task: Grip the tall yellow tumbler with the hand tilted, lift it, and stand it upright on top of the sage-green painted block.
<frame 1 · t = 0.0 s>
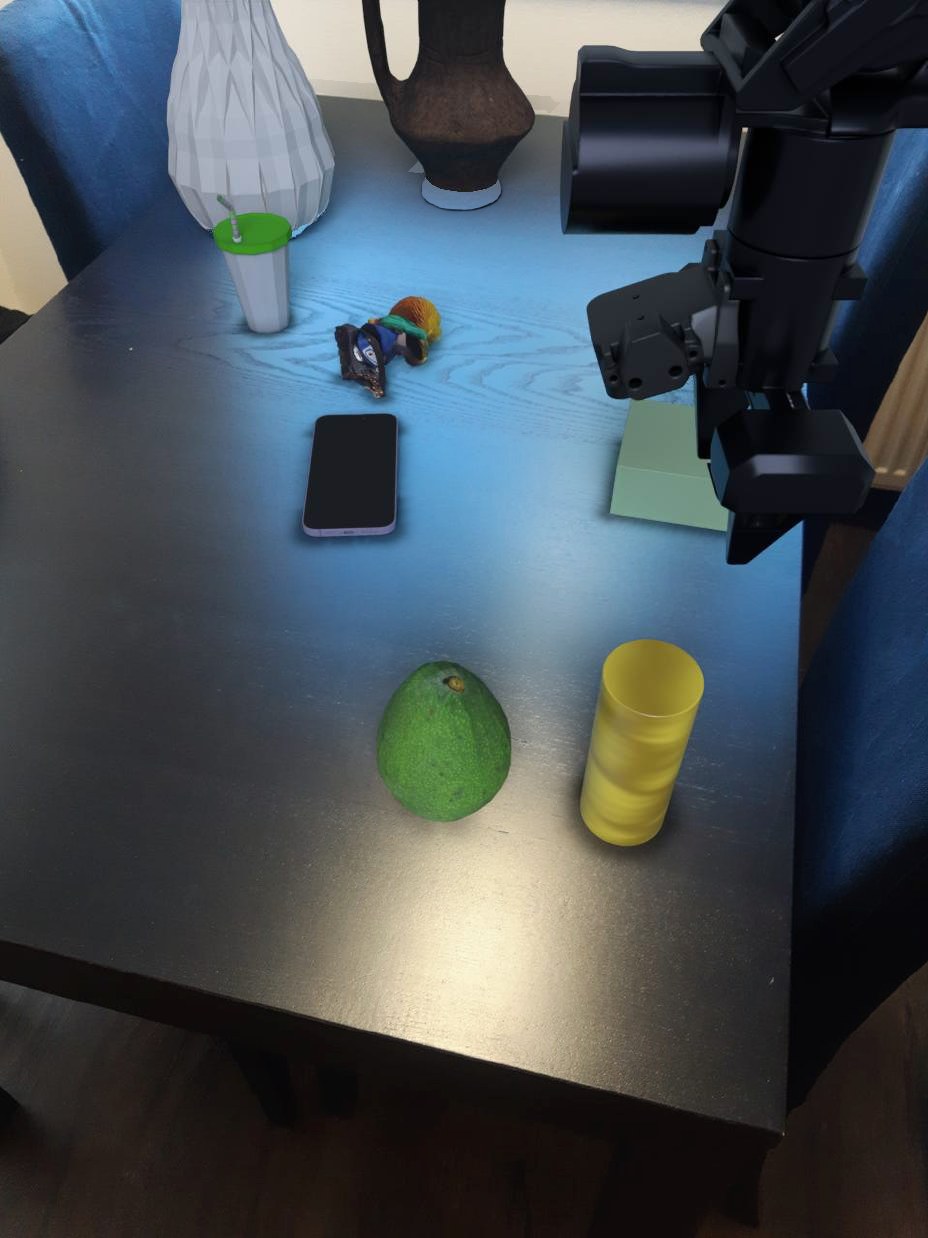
hand: (719, 506, 50), 16 cm above the table, tool pointing down, fingers open, 9 cm apart
jug: (453, 195, 120), on the table
vase: (264, 229, 113), on the table
green block: (674, 486, 77), on the table
cup: (269, 324, 96), on the table
figurine: (391, 369, 90), on the table
smartphone: (354, 479, 78), on the table
yellow tumbler: (621, 808, 55), on the table
fruit: (445, 795, 56), on the table
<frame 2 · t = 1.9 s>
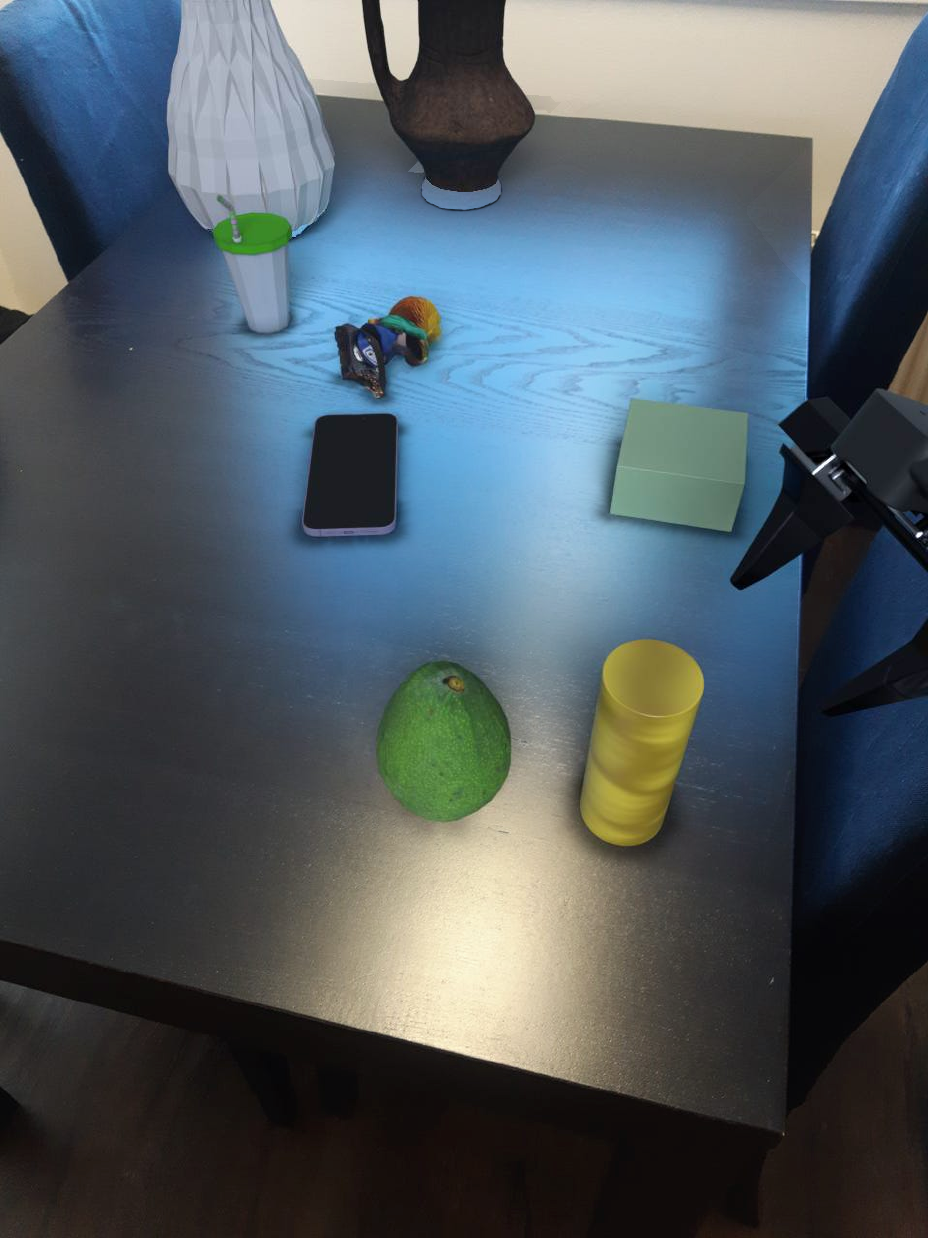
hand: (775, 645, 47), 13 cm above the table, tool tilted 45°, fingers open, 9 cm apart
nothing on the table moved.
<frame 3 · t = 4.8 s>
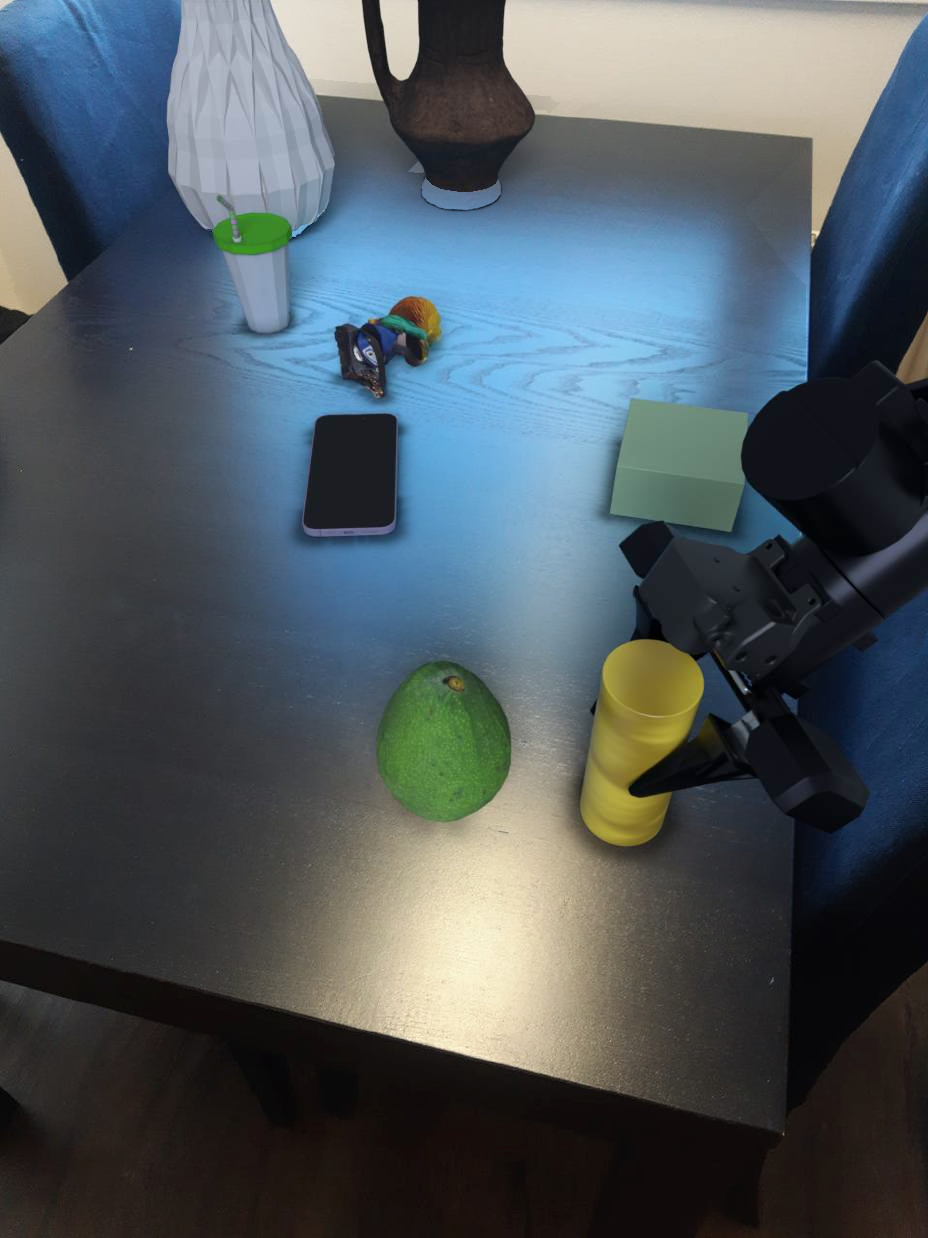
hand: (613, 753, 50), 7 cm above the table, tool tilted 45°, fingers closed on yellow tumbler, 5 cm apart
yellow tumbler: (621, 809, 55), on the table, touching gripper
everything else where it was.
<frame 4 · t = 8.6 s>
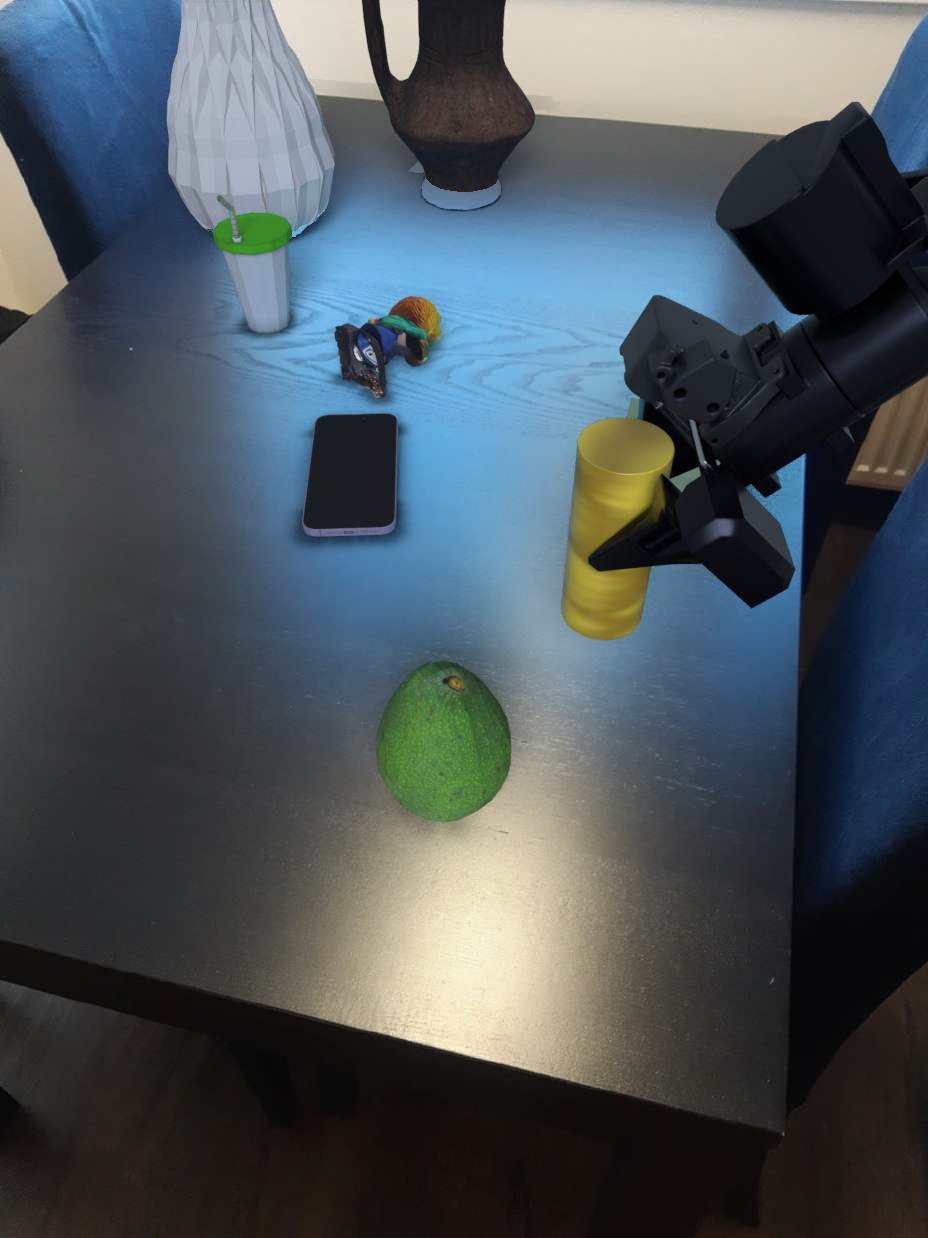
hand: (589, 533, 52), 13 cm above the table, tool tilted 45°, fingers closed on yellow tumbler, 5 cm apart
yellow tumbler: (600, 610, 57), point 7 cm above the table, touching gripper
everything else where it was.
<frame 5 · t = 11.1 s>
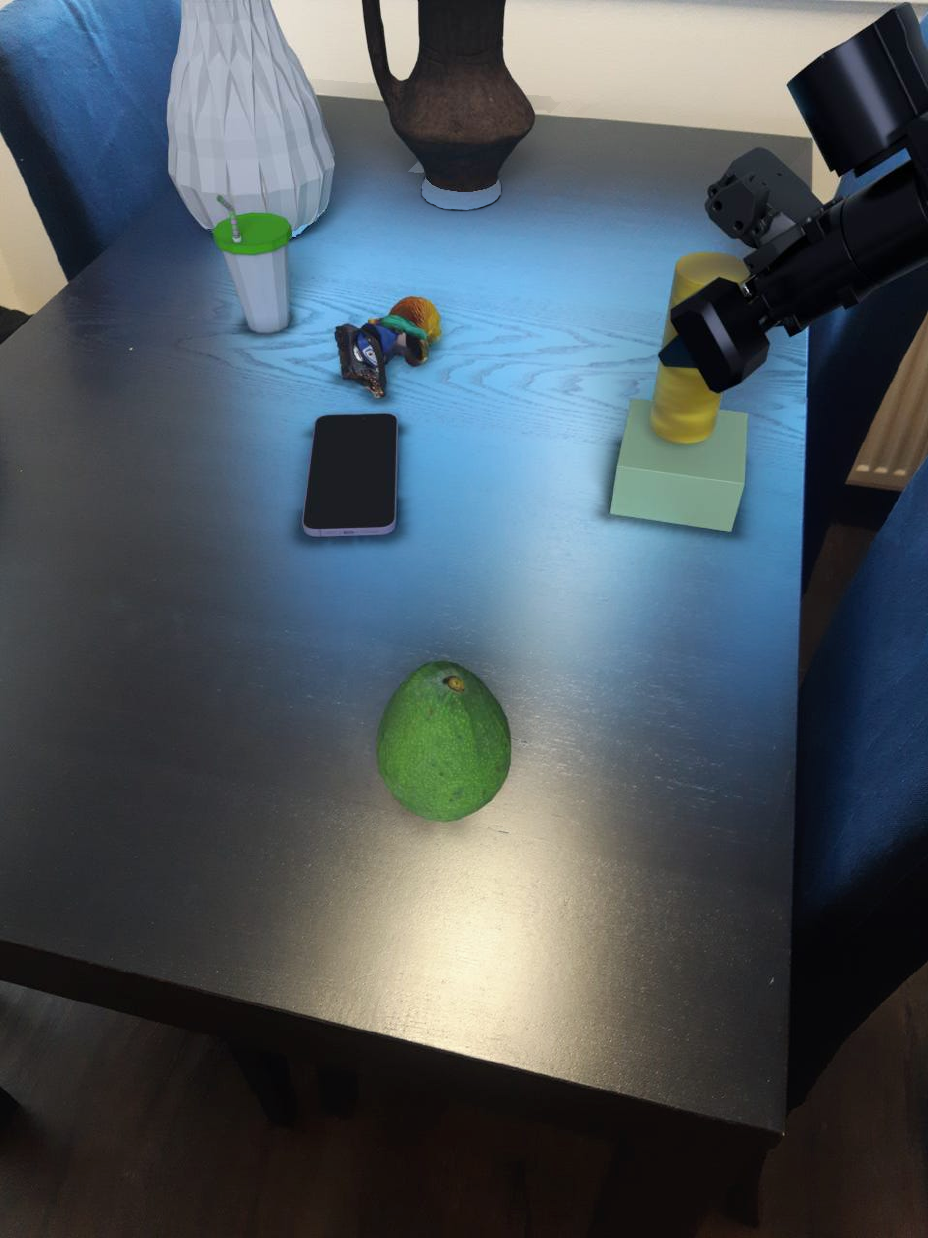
hand: (681, 344, 67), 13 cm above the table, tool tilted 45°, fingers closed on yellow tumbler, 5 cm apart
yellow tumbler: (681, 424, 71), point 7 cm above the table, touching gripper
everything else where it was.
when the fingers open (12 cm above the table, at t = 12.8 s): yellow tumbler stays where it is, resting on green block.
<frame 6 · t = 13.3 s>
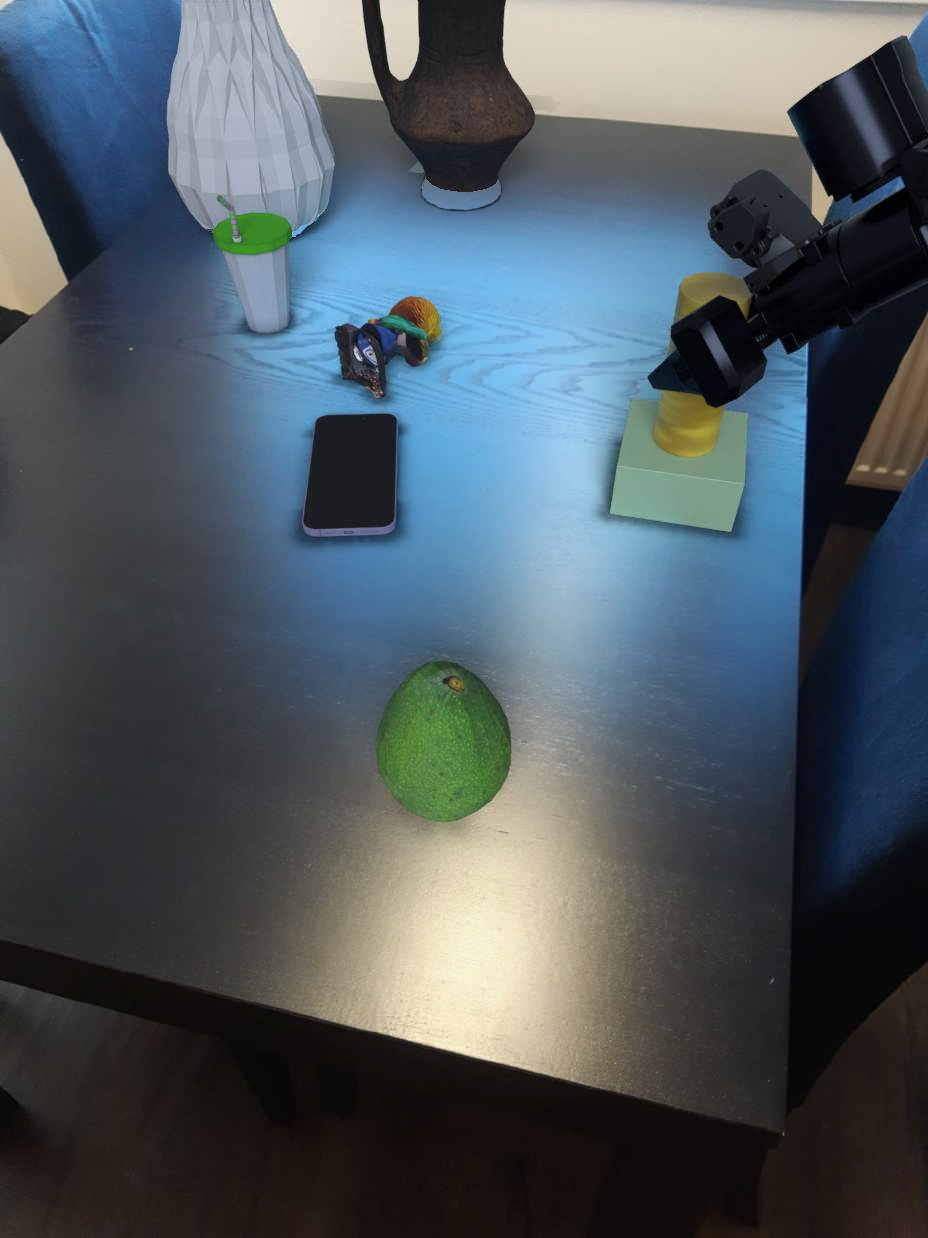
hand: (684, 358, 69), 12 cm above the table, tool tilted 45°, fingers open, 9 cm apart
yellow tumbler: (684, 438, 73), point 5 cm above the table, touching green block
everything else where it was.
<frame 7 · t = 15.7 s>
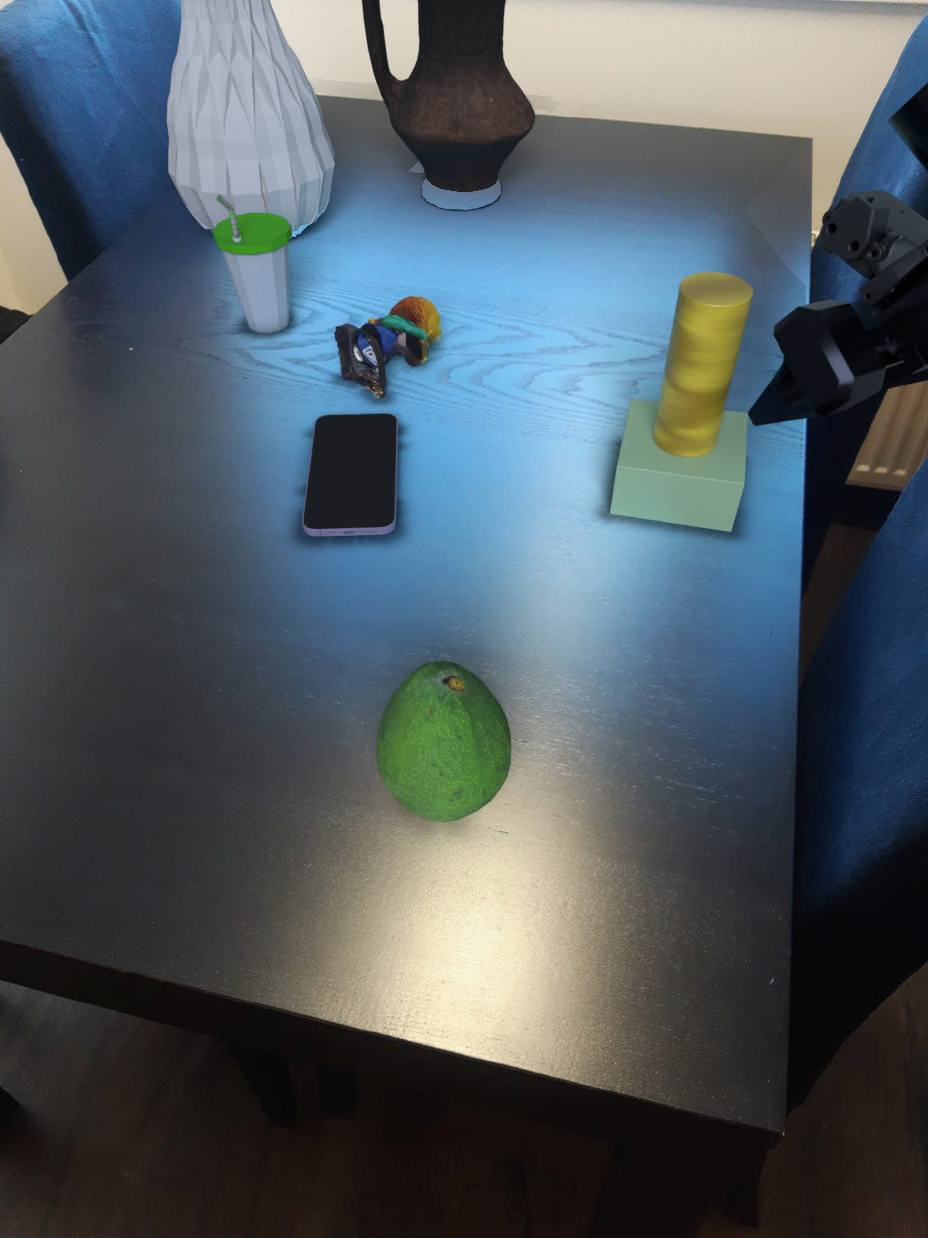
hand: (791, 406, 62), 13 cm above the table, tool tilted 35°, fingers open, 9 cm apart
nothing on the table moved.
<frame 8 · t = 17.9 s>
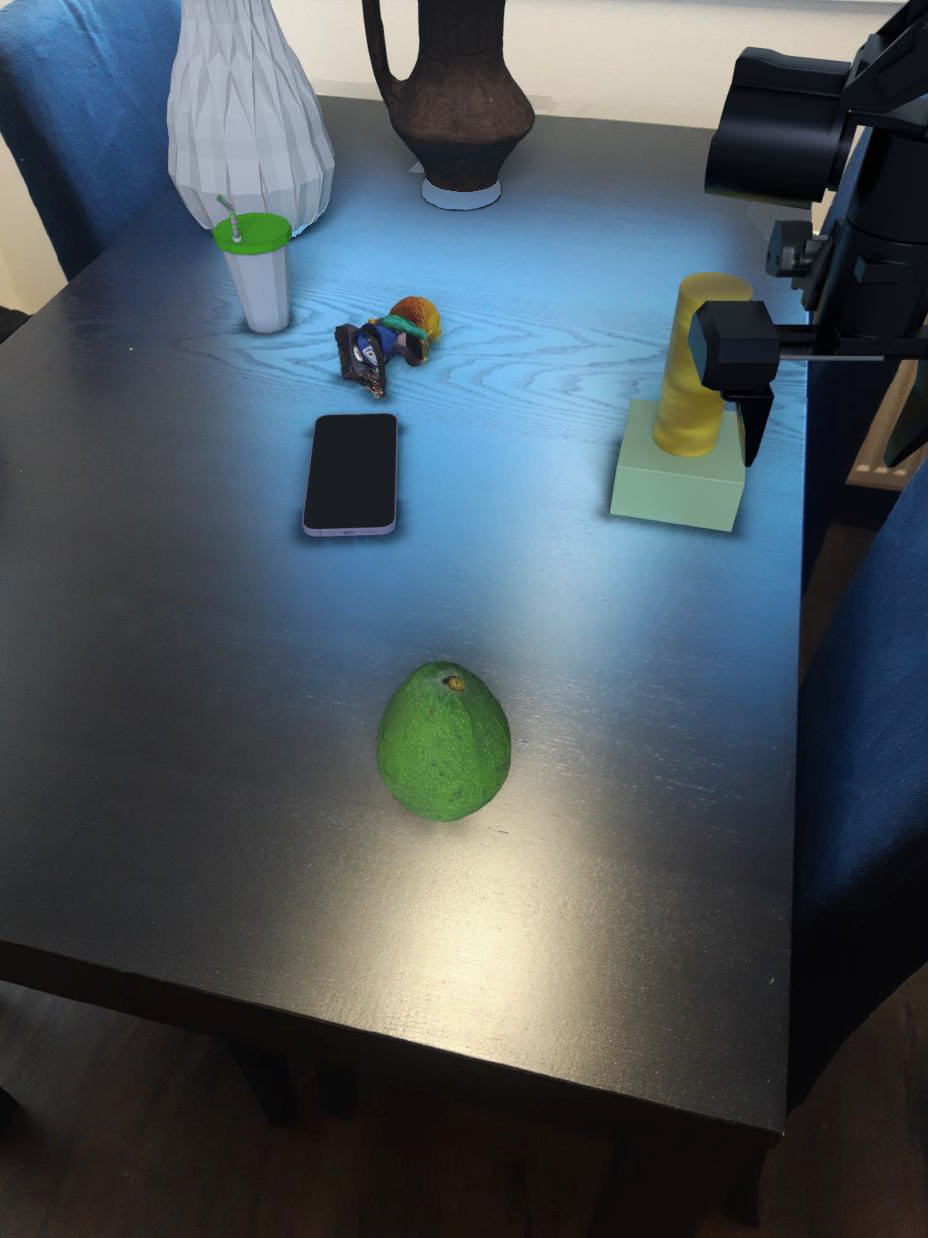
hand: (816, 463, 57), 13 cm above the table, tool pointing down, fingers open, 9 cm apart
nothing on the table moved.
at the end: yellow tumbler inside the target area on the green block (0.0 cm from its centre), point 5.0 cm above the green block's base; yellow tumbler tilted 0°; the gripper is holding nothing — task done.
